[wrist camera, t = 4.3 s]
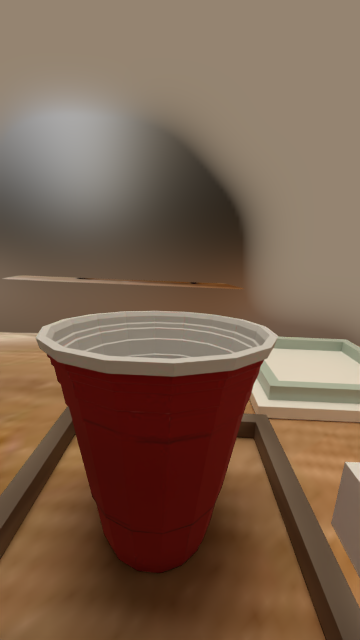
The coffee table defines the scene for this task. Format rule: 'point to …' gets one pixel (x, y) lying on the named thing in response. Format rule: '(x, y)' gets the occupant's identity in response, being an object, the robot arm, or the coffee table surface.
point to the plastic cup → (156, 419)
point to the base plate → (309, 380)
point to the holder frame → (303, 528)
